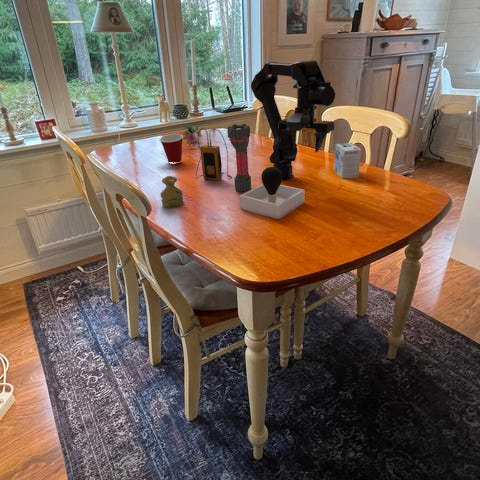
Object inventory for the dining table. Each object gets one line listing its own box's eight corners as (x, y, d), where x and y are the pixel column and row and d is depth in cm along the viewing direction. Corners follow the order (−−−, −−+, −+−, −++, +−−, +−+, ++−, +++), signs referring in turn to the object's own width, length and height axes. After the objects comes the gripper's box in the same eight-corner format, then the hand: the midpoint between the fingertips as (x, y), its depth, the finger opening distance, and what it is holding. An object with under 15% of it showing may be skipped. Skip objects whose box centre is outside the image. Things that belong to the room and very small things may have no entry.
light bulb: (275, 209, 114) (276, 172, 108) (257, 204, 118) (257, 169, 112) (285, 201, 119) (286, 166, 113) (268, 197, 122) (268, 163, 116)
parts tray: (240, 208, 118) (239, 195, 116) (267, 194, 128) (266, 181, 126) (278, 219, 109) (278, 205, 107) (304, 202, 119) (304, 189, 117)
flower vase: (197, 148, 218) (201, 150, 185) (176, 144, 215) (177, 145, 182) (200, 128, 215) (205, 126, 182) (179, 124, 213) (181, 120, 179)
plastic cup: (158, 165, 165) (154, 139, 160) (171, 159, 174) (167, 133, 168) (179, 167, 162) (175, 140, 156) (190, 160, 170) (187, 134, 165)
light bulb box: (333, 170, 146) (335, 143, 141) (349, 168, 147) (351, 142, 142) (341, 178, 137) (344, 150, 132) (359, 177, 137) (362, 149, 132)
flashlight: (237, 195, 128) (233, 129, 117) (228, 189, 134) (223, 125, 123) (256, 190, 131) (254, 125, 120) (246, 184, 137) (243, 122, 126)
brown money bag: (174, 210, 120) (169, 181, 115) (157, 206, 123) (152, 178, 118) (188, 202, 125) (184, 174, 120) (172, 199, 129) (167, 171, 124)
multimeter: (238, 173, 149) (235, 123, 139) (227, 181, 141) (223, 129, 132) (207, 170, 155) (202, 122, 145) (195, 178, 147) (189, 128, 137)
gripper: (268, 105, 119) (269, 153, 126) (319, 108, 108) (317, 160, 116) (287, 101, 126) (287, 145, 134) (336, 103, 115) (333, 151, 123)
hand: (304, 150), depth 126 cm, fingers open, 9 cm apart
